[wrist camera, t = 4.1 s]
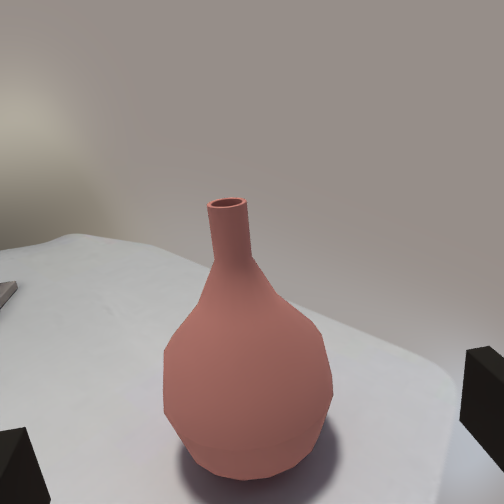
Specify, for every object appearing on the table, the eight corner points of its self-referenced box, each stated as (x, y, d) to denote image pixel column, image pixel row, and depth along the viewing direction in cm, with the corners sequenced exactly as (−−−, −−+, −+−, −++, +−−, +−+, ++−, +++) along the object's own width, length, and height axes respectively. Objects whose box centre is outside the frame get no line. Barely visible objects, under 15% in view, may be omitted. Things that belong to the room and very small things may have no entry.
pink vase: (199, 549, 16) (141, 254, 12) (160, 420, 23) (113, 201, 19) (369, 470, 19) (371, 204, 14) (289, 375, 25) (274, 173, 21)
